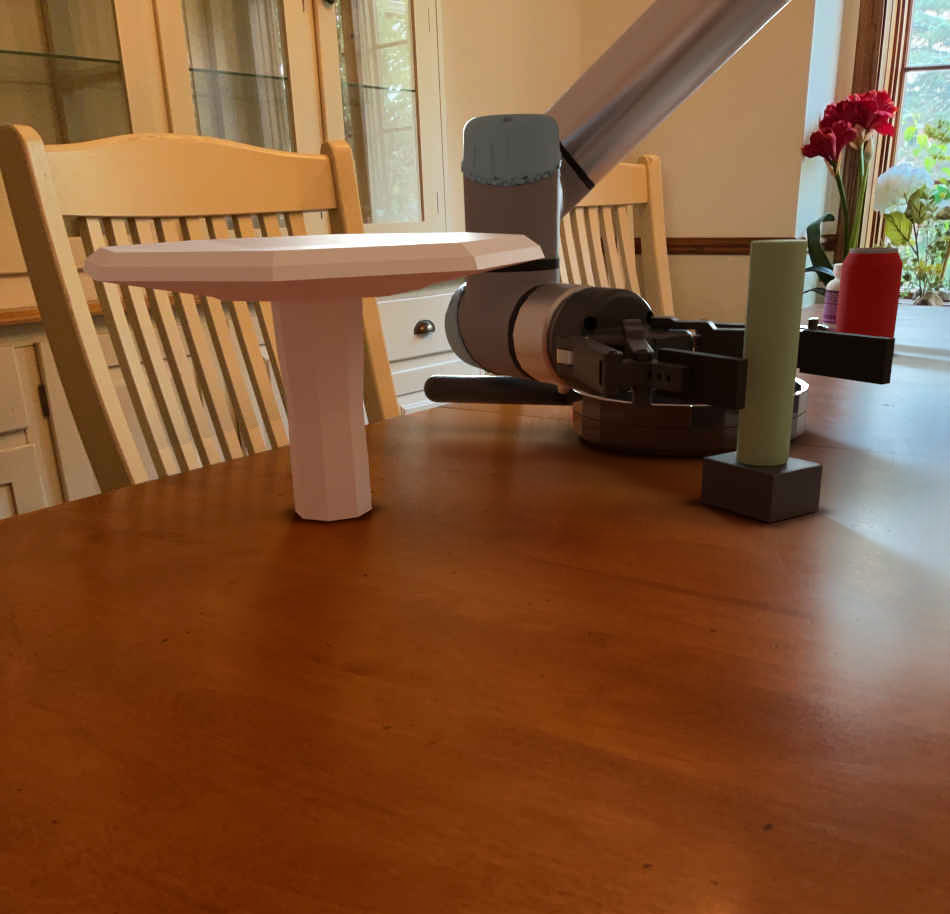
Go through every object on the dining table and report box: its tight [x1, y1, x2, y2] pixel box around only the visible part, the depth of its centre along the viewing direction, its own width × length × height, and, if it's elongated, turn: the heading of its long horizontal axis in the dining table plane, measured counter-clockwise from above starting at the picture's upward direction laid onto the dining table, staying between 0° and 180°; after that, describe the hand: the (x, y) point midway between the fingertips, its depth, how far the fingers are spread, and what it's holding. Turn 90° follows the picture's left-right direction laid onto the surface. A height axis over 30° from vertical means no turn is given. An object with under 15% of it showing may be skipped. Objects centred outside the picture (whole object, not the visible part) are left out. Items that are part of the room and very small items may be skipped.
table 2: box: [82, 231, 545, 522], centre depth 66 cm, size 28×28×17 cm
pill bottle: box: [821, 262, 843, 332], centre depth 135 cm, size 5×5×10 cm
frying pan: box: [570, 377, 809, 457], centre depth 87 cm, size 19×19×4 cm
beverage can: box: [835, 246, 904, 338], centre depth 124 cm, size 7×7×12 cm
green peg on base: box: [700, 239, 824, 524], centre depth 64 cm, size 6×4×16 cm
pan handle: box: [423, 374, 571, 407], centre depth 91 cm, size 14×2×2 cm, turn 73°
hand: (819, 372), depth 60 cm, fingers open, 12 cm apart
